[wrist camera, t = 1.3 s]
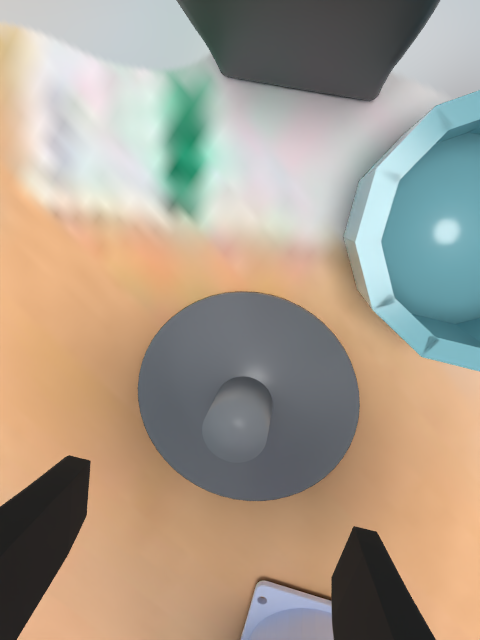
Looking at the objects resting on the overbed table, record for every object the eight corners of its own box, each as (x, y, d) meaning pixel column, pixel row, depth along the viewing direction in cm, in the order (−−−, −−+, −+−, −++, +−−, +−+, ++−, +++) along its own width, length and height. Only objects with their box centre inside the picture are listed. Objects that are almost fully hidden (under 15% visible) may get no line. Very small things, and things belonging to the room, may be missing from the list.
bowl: (524, 357, 18) (591, 399, 14) (323, 308, 19) (328, 333, 15) (615, 142, 16) (729, 113, 12) (382, 97, 17) (409, 54, 13)
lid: (323, 515, 22) (327, 573, 19) (129, 458, 23) (97, 503, 20) (386, 321, 19) (405, 345, 16) (162, 266, 20) (130, 276, 17)
